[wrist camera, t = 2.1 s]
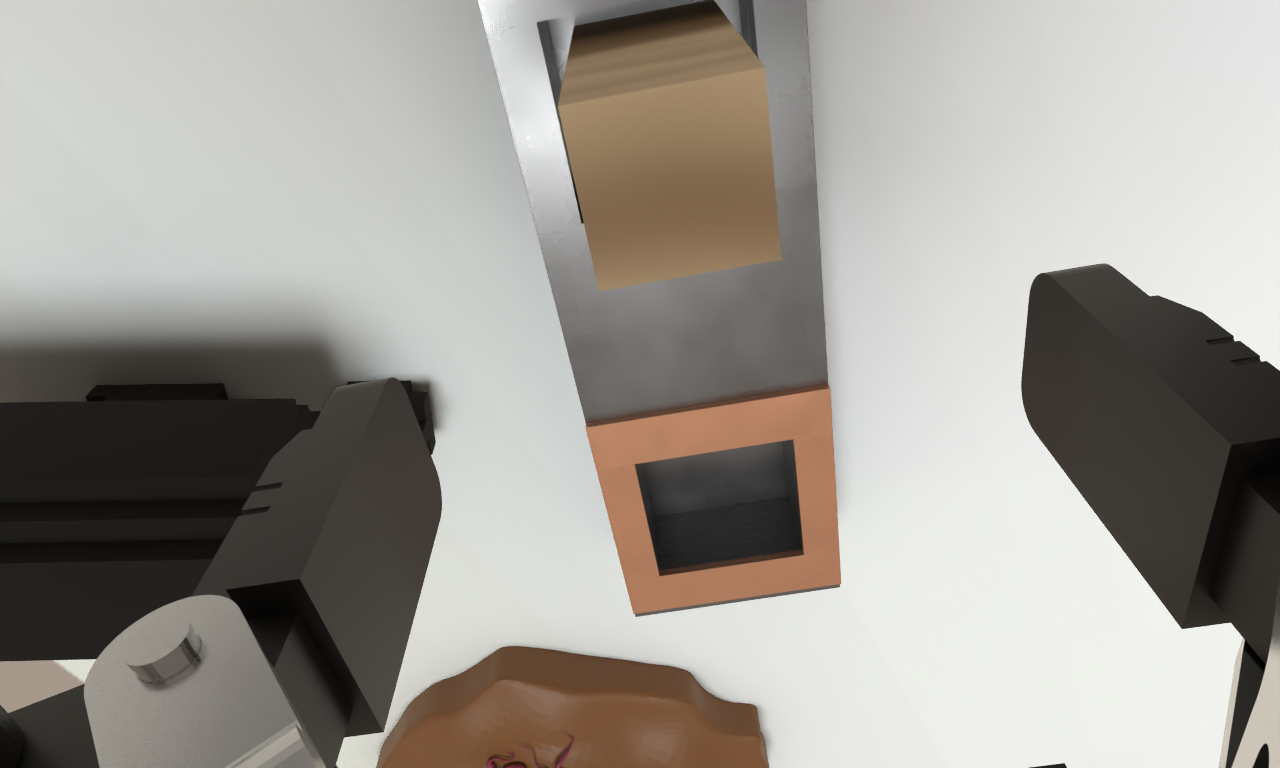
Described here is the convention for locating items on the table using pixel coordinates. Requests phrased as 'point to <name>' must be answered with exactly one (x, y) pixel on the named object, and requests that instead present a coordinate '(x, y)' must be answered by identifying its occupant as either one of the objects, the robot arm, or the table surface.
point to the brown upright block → (669, 145)
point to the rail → (692, 341)
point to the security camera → (126, 504)
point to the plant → (572, 718)
